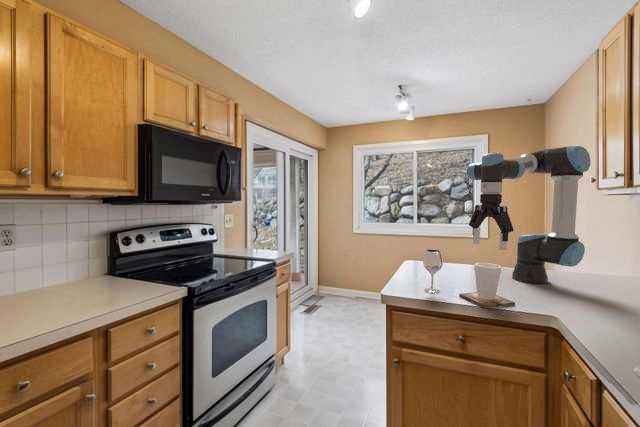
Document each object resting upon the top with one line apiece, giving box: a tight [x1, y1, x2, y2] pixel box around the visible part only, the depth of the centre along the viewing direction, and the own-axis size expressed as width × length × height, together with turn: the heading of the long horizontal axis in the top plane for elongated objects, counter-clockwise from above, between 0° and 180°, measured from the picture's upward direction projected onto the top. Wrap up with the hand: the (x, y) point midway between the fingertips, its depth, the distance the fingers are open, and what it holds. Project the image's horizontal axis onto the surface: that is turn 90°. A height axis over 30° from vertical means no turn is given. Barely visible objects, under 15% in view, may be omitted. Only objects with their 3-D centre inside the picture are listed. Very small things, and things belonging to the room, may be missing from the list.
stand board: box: [459, 291, 516, 309], centre depth 127 cm, size 14×14×2 cm
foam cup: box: [473, 262, 502, 300], centre depth 126 cm, size 10×9×13 cm
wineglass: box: [422, 249, 444, 294], centre depth 138 cm, size 8×8×18 cm
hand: (488, 246), depth 126 cm, fingers open, 13 cm apart
